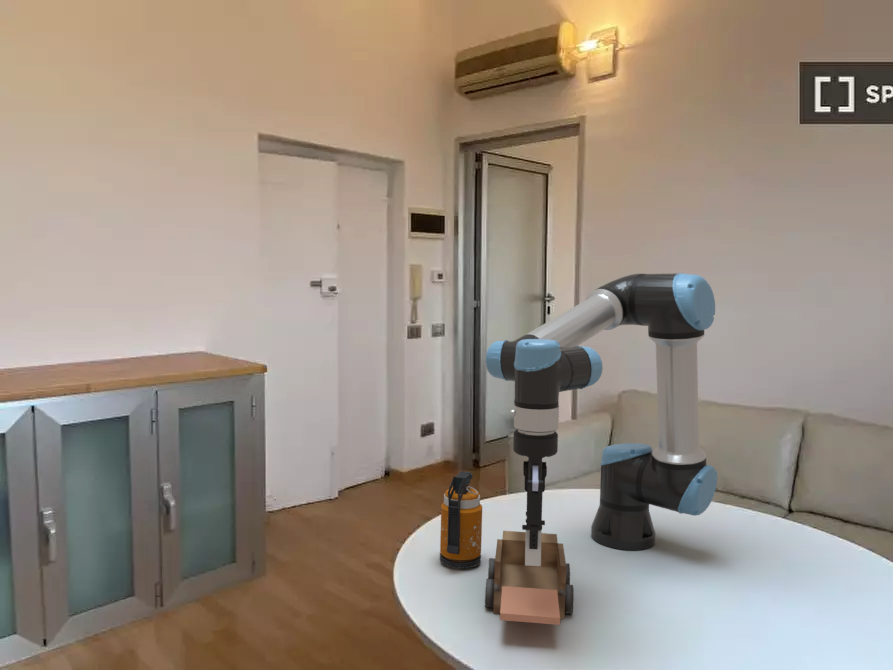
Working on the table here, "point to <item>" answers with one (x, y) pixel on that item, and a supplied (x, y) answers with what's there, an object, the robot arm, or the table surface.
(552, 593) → the panel
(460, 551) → the canister
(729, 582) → the table surface
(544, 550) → the truck
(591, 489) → the table surface
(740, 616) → the table surface
